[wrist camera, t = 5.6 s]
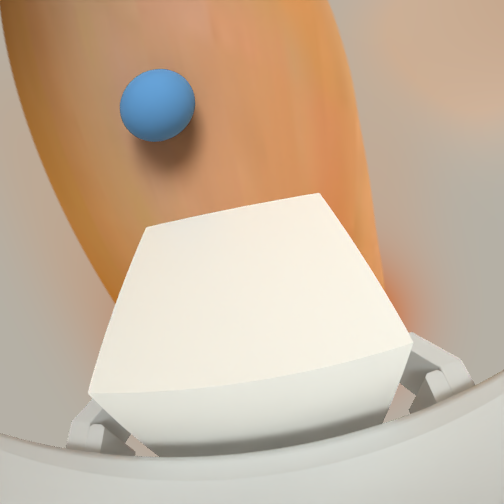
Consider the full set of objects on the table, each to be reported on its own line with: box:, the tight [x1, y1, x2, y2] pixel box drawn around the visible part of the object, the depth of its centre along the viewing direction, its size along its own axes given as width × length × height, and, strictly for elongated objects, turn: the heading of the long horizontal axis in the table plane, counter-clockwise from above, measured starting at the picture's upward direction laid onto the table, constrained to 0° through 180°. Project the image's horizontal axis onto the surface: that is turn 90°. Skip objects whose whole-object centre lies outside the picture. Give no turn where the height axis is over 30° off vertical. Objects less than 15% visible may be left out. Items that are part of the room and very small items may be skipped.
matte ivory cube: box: [88, 193, 413, 457], centre depth 11 cm, size 7×7×8 cm
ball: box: [120, 69, 195, 142], centre depth 18 cm, size 5×5×5 cm
